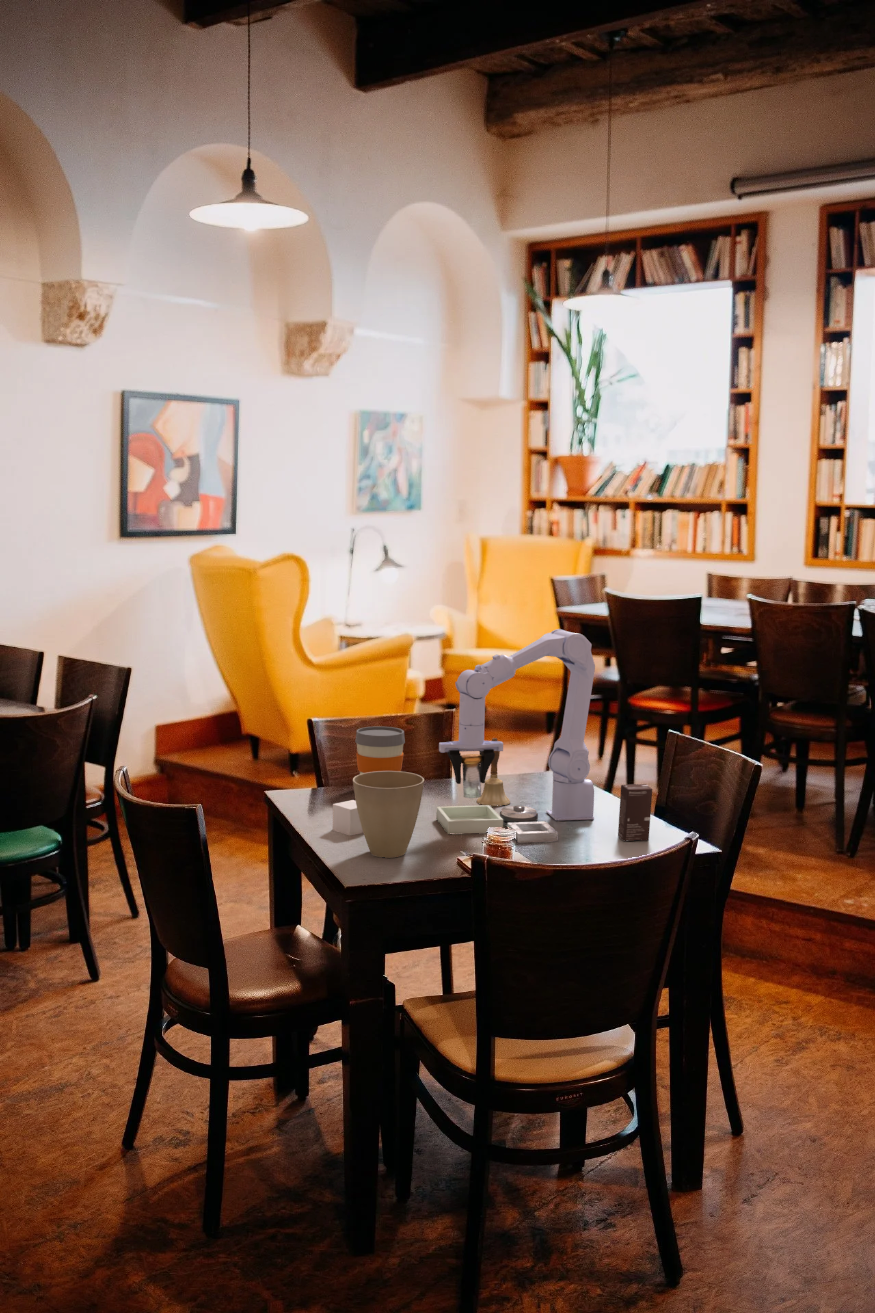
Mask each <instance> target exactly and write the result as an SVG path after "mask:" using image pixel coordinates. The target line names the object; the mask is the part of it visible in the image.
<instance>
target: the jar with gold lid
mask: <svg viewBox="0 0 875 1313" xmlns="http://www.w3.org/2000/svg"><path fill="white" fill-rule="evenodd" d="M461 756H462V762H461V769H462V789H463V792H462V793H463V798H466V799H478V798H479V797H481V795H482V783H481V777H480V762H482V761H483V760H482V755H480V753H479V754H478V753H467V754H461Z"/></svg>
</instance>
